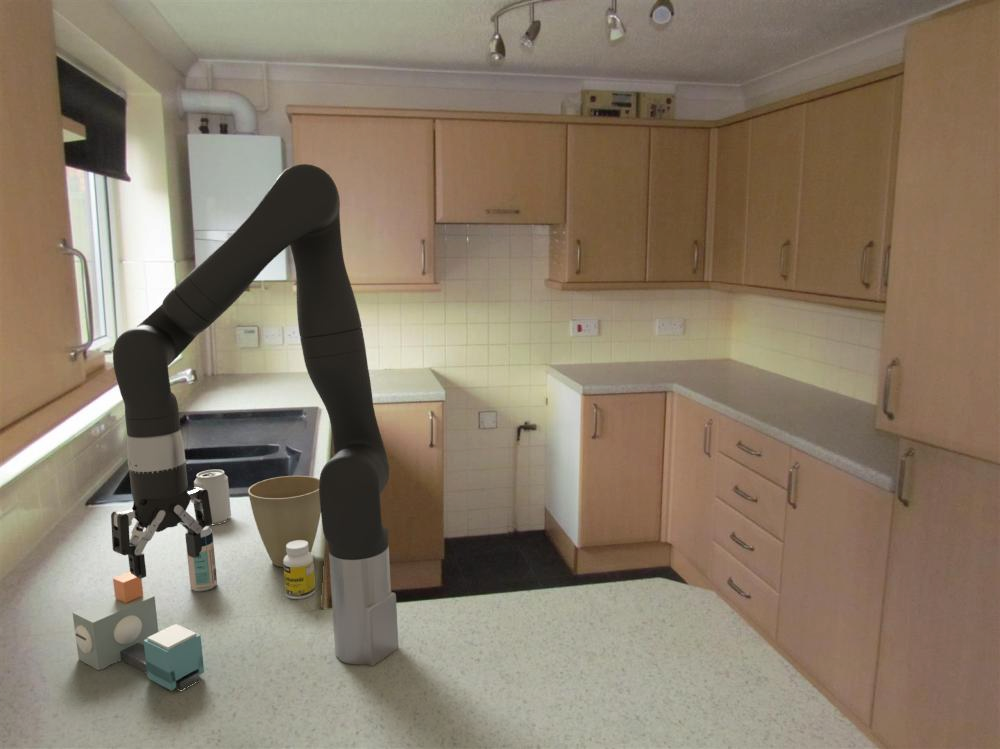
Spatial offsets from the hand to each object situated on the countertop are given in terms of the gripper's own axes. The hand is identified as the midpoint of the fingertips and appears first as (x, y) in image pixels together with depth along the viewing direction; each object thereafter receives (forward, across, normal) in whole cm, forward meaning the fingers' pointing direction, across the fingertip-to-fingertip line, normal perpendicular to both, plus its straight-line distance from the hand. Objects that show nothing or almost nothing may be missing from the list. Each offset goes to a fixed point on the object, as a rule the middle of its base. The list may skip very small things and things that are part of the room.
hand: (168, 566), depth 109 cm
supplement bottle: (+17, +27, +4) cm, 32 cm away
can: (+17, +41, +52) cm, 68 cm away
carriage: (+17, -2, -2) cm, 17 cm away
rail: (+17, -2, +2) cm, 17 cm away
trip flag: (+9, 0, +13) cm, 16 cm away
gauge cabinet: (+17, -2, +13) cm, 22 cm away
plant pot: (+17, +36, +18) cm, 44 cm away
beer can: (+17, +19, +22) cm, 34 cm away
